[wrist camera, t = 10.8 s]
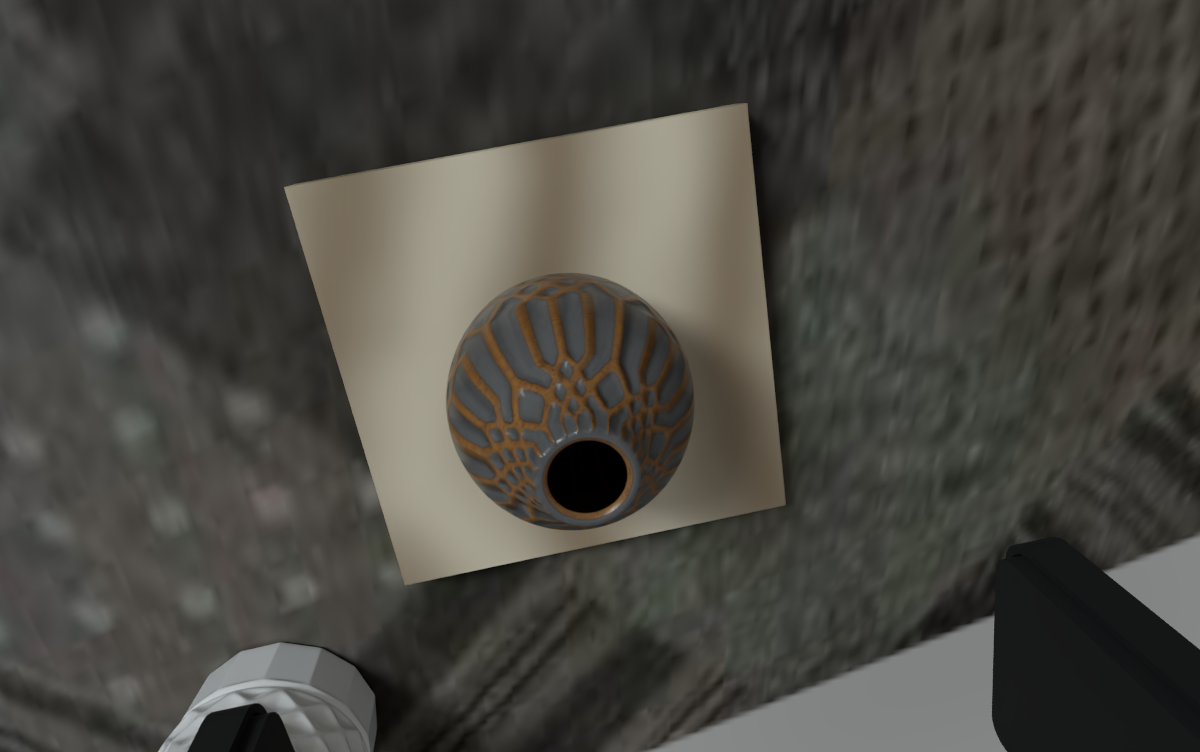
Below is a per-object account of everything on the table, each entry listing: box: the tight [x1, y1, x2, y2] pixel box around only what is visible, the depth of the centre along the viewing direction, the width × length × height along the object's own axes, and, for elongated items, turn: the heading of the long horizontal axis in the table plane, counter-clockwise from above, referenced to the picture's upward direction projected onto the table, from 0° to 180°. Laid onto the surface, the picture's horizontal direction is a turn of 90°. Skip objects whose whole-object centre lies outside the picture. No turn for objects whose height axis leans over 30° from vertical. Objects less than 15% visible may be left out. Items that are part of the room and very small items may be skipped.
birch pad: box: [284, 103, 786, 585], centre depth 25 cm, size 14×14×1 cm
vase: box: [446, 273, 694, 530], centre depth 21 cm, size 7×7×9 cm
